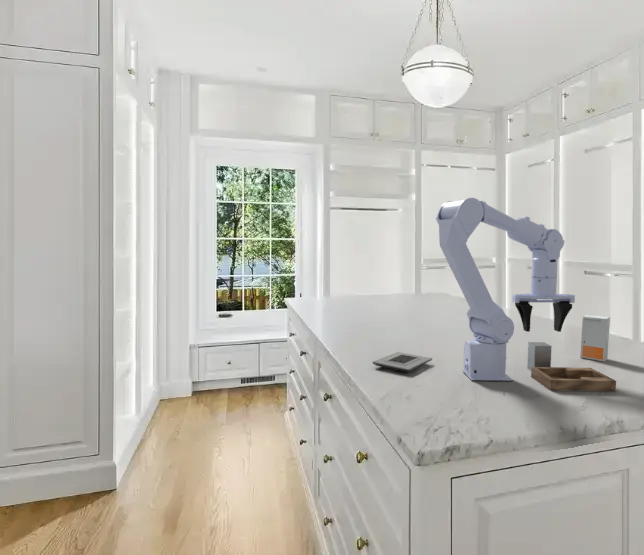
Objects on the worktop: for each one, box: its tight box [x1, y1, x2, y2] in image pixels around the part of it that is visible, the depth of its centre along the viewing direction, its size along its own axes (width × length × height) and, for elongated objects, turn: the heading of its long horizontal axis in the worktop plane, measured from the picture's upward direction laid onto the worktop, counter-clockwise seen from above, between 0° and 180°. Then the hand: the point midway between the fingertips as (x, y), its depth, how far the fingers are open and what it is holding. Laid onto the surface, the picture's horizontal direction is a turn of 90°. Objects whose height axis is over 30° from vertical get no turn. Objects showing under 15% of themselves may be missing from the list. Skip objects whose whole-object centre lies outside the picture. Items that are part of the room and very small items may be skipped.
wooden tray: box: [530, 366, 617, 392], centre depth 101 cm, size 14×10×2 cm
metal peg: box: [526, 341, 552, 372], centre depth 111 cm, size 4×4×7 cm
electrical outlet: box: [372, 351, 433, 373], centre depth 116 cm, size 13×10×2 cm
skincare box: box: [579, 314, 611, 363], centre depth 122 cm, size 6×4×12 cm
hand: (542, 330), depth 110 cm, fingers open, 7 cm apart
